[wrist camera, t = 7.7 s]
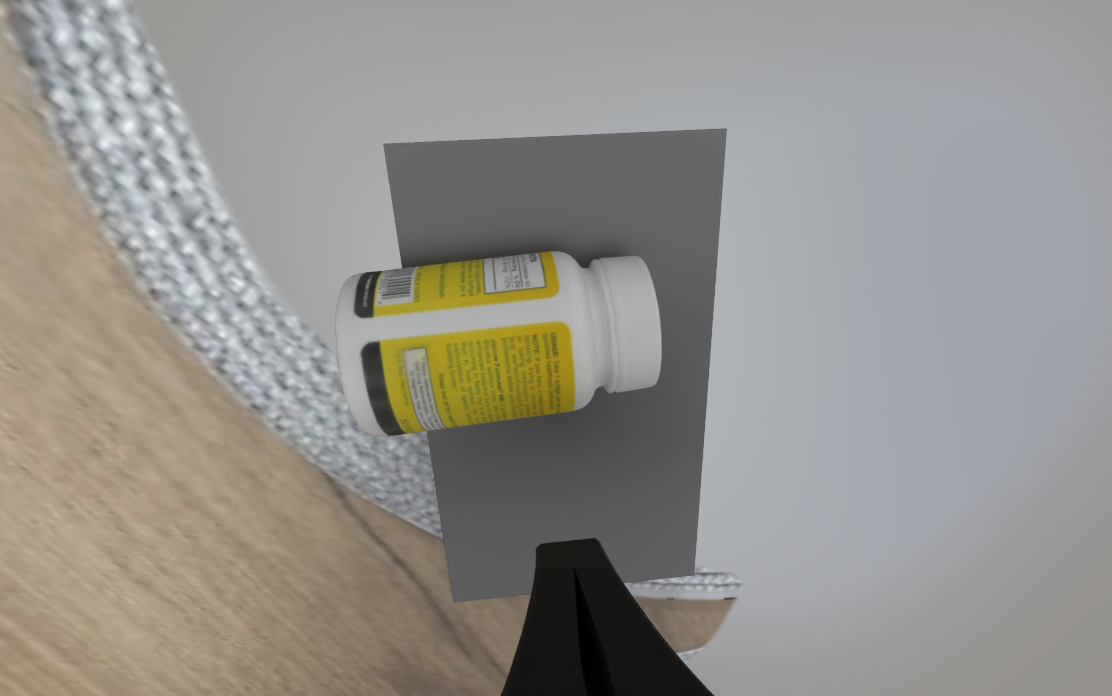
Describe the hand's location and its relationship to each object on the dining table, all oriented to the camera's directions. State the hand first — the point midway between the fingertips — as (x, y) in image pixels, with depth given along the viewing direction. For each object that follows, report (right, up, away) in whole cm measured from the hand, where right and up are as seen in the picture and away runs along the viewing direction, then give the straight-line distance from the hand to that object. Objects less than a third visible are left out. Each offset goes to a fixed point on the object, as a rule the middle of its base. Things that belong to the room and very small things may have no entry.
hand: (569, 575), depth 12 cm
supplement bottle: (-6, +5, +4) cm, 9 cm away
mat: (0, +3, +8) cm, 9 cm away
